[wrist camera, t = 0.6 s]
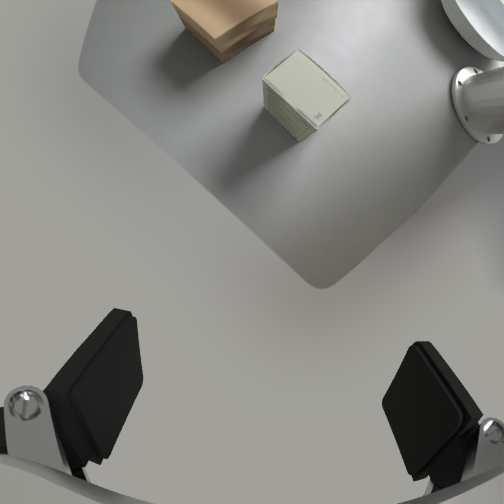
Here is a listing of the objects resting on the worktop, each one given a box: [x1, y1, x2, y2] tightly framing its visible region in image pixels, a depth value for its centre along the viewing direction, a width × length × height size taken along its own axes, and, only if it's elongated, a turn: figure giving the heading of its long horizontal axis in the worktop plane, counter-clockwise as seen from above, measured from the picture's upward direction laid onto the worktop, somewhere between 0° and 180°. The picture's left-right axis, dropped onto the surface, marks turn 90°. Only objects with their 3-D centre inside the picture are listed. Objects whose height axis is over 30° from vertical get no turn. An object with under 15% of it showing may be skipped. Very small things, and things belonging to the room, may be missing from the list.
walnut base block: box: [179, 16, 275, 63], centre depth 25 cm, size 8×8×4 cm
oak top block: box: [171, 0, 278, 53], centre depth 21 cm, size 8×8×4 cm
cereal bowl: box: [441, 0, 504, 61], centre depth 19 cm, size 17×17×7 cm
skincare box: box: [263, 49, 351, 142], centre depth 25 cm, size 6×4×12 cm
